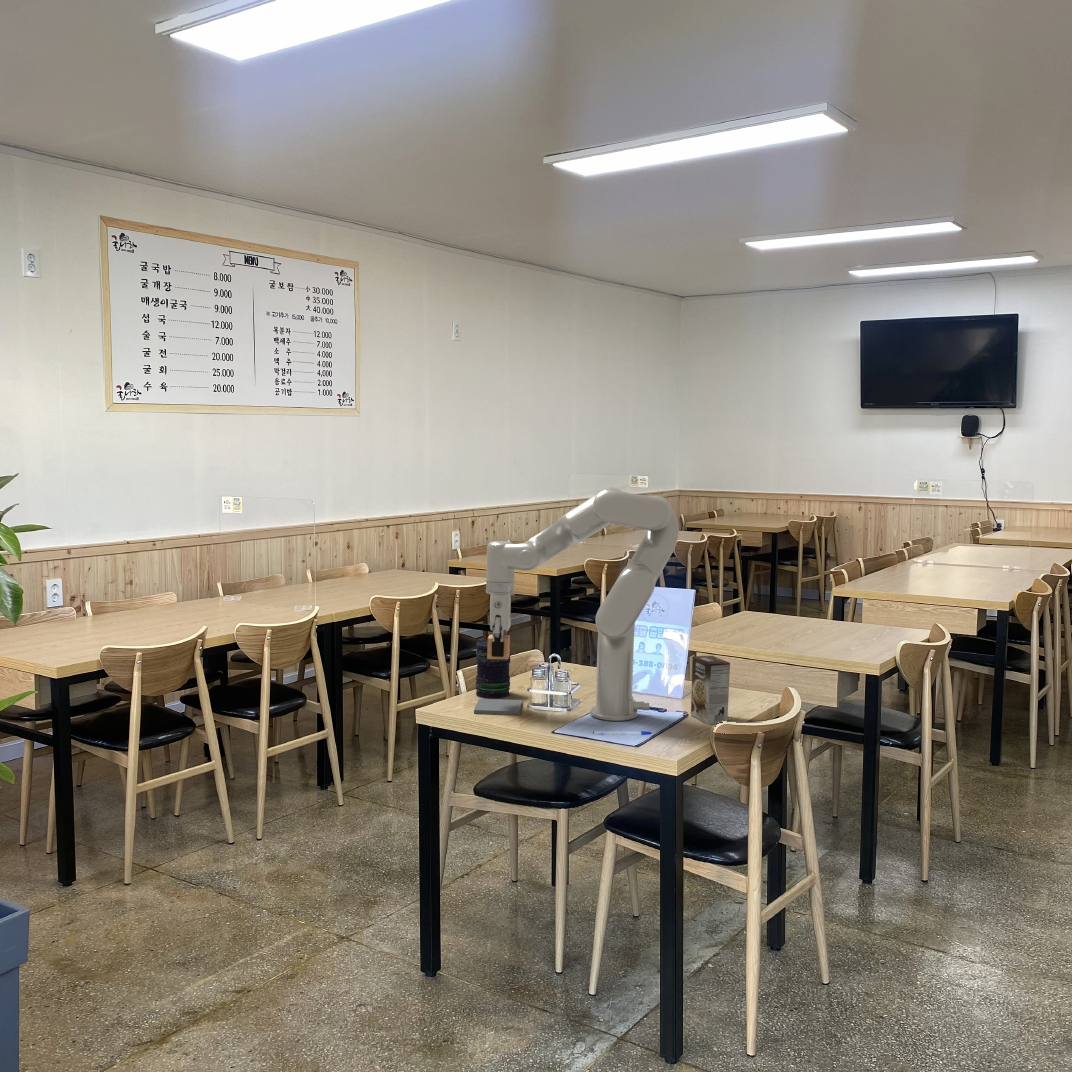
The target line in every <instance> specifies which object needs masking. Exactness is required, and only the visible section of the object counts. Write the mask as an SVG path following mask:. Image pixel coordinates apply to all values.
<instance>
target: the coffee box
mask: <svg viewBox="0 0 1072 1072" xmlns="http://www.w3.org/2000/svg"><path fill="white" fill-rule="evenodd" d="M691 669H692V670H691V696H690V697H691V700H690V716H691V717H693V718H695V719H696V720H698V721H701V722H702V723H704V724H706V725H713V724H714V725H715V724H716V723H717V724H719V723H718V722H722V721H727V720H728V719H729V718H728V717H729V715H728V714H729V697H730V696H729V693H730V673H731V672H730V670H731V662H729V661H727V660H725V659H722V658H720V657H717V656H715V655H694V656H692V667H691ZM727 722H728V721H727Z"/></svg>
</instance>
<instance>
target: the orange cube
mask: <svg viewBox="0 0 1072 1072" xmlns="http://www.w3.org/2000/svg"><path fill="white" fill-rule="evenodd" d="M487 640H488V648H487V659H508V658H509V654H510V652H511V635H510V634H505V635H503V642H504V656H503V657H492V640H493V634H488V637H487Z"/></svg>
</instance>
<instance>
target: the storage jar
mask: <svg viewBox="0 0 1072 1072" xmlns="http://www.w3.org/2000/svg"><path fill="white" fill-rule="evenodd" d="M487 648H488V639H484V640H478V641H477V642H476V652H475V657H476V659H475V661H476V662H475V663H476V676H475V690H476V691H475V695H476V696H475V697H478V698H479V699H505V698H508V697H510V695H511V694H510V691H511V690H510V689H511V688H510V687H511V676H510V663H511V655H512V654H511V652H512V651H510V654H509V658H508V659H487Z"/></svg>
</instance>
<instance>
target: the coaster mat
mask: <svg viewBox="0 0 1072 1072" xmlns="http://www.w3.org/2000/svg"><path fill="white" fill-rule="evenodd" d="M522 705H523V699H505V698H501V699H486V698H478V700H477V703H476V704H475V707H474V709H473V715H476V714H477V715H500V716H501V715H504V716H505V715H507V716H520V714H521V709H522Z"/></svg>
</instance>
